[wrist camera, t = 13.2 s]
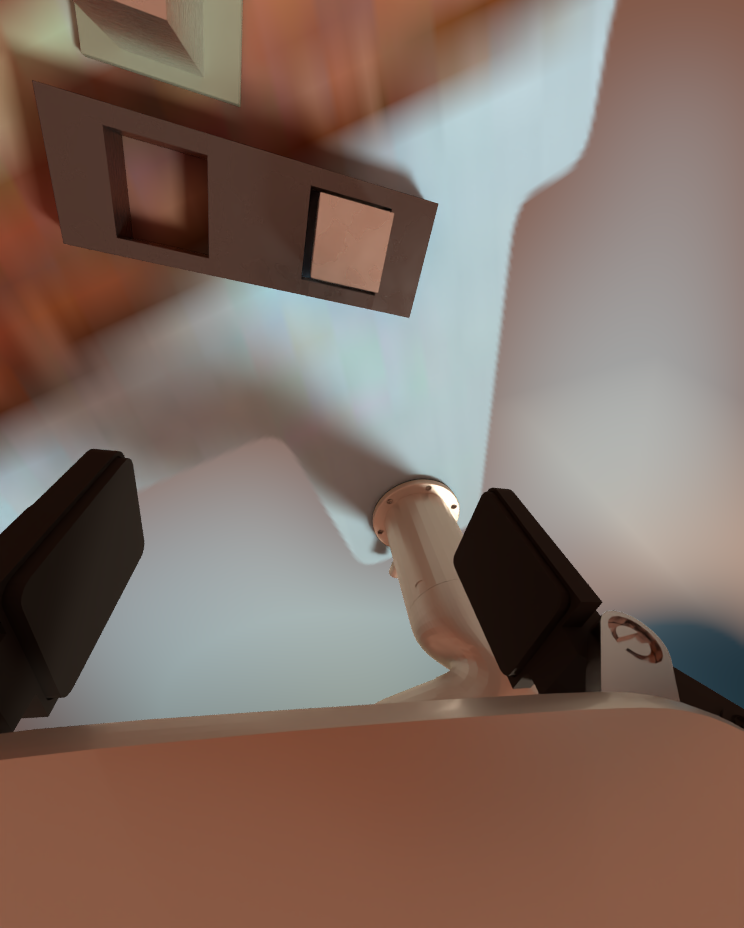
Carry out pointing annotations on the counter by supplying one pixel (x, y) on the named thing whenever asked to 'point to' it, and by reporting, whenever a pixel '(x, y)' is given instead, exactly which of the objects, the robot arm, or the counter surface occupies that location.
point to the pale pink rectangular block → (153, 29)
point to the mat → (218, 68)
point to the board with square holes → (219, 203)
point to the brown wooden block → (350, 242)
